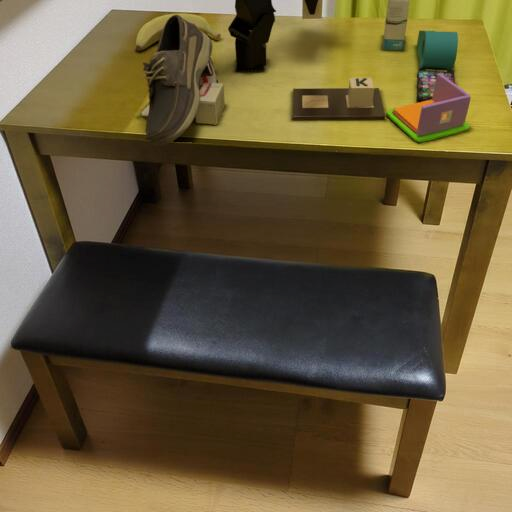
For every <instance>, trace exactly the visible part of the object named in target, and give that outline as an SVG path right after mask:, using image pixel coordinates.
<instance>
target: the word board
mask: <svg viewBox="0 0 512 512" xmlns="http://www.w3.org/2000/svg"><path fill="white" fill-rule="evenodd" d="M348 92H349V87H344V88H343V87H337V88H333V87H332V88H326V87H325V88H324V87H323V88H320V87H319V88H316V87H315V88H314V87H313V88H293V89H292V121H385V118H386V114H385V110H384V106H383V102H382V101H383V100H382V97H381V92H380V88H379V87H374V93H373V102H372V106H349V98H348Z"/></svg>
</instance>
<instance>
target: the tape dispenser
mask: <svg viewBox="0 0 512 512" xmlns="http://www.w3.org/2000/svg"><path fill="white" fill-rule="evenodd" d="M458 46H459V34H458V32H457V31H436V30H418V35H417V42H416V52H417V59H418V64H419V69H420V68H432V69H448V70H453V69H454V67H455V64H456V61H457V54H458Z"/></svg>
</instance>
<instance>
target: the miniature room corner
mask: <svg viewBox="0 0 512 512" xmlns="http://www.w3.org/2000/svg"><path fill="white" fill-rule="evenodd" d="M471 98H472V97H471V94H470V93H468V92H467V91H465V90H464V89H463V88H461V87H460V86H458V85H457V84H456V83H455V84H454V83H453V82H452V81H450V80H449V79H447V78H446V77H445V76H443V75H441V74H440V75H437V78H436V83H435V87H434V92H433V98H432V100H427V101H423V102H415V103H410V104H407V105H403V106H398V107H395V108H391V109H388V110H387V111H386V116H387V117H388V118H389V119H390V120H391V121H392V122H393V123H395V125H397V126H398V127H399V128H400V129H401V130H402V131H403V132H404V133H405V134H407V135H408V136H409V137H410V138H411V139H412V140H414V141H415V142H417V143H424V142H428V141H432V140H436V139H441V138H444V137H449V136H453V135H456V134H459V133H462V132H466V131H468V130H469V129H470V124H469V123H468V122H467V121H466V118H467V115H468V113H469V112H468V111H469V107H470V103H471Z"/></svg>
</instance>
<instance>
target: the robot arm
mask: <svg viewBox="0 0 512 512" xmlns="http://www.w3.org/2000/svg"><path fill="white" fill-rule="evenodd" d="M317 2H318V0H305V3H306V6H307V8H308V11H309V14H310V15H314V14H315V10H316V6H317ZM234 10H235V17H234V18H233V20H232V21H231V23H230V24H229V26H228V28H227V30H228V33H229V35H230V37H231V38H232V37H233V38H234V50H235V68H234V70H235V72H264V71H265V66H266V65H267V61H268V59H267V57H268V56H267V54H268V53H267V44H268V43H269V41H270V37H271V34H272V30H273V27H274V23H275V22H276V16H275V13H276V12H277V10H276V9H275V8H274V6H273V2H272V0H235V2H234Z"/></svg>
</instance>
